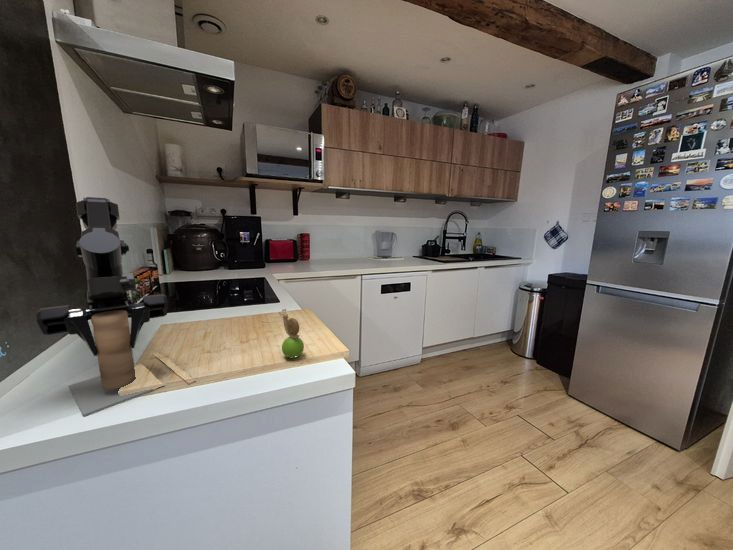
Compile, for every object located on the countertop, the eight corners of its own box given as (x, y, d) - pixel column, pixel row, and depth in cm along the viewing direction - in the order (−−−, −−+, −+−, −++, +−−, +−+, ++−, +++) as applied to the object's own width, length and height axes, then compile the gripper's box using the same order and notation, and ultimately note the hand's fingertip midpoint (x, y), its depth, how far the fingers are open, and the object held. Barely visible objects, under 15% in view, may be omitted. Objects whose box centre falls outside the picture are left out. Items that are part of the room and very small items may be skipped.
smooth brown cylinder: (110, 377, 57) (101, 311, 55) (140, 373, 59) (132, 309, 56) (95, 391, 53) (84, 319, 50) (128, 387, 54) (119, 317, 52)
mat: (68, 387, 56) (68, 385, 56) (142, 364, 66) (142, 363, 66) (83, 416, 48) (83, 414, 48) (165, 386, 58) (164, 384, 58)
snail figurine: (293, 349, 76) (292, 306, 74) (308, 356, 72) (308, 311, 70) (275, 355, 72) (274, 311, 70) (290, 364, 68) (289, 316, 66)
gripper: (28, 263, 48) (27, 346, 42) (162, 257, 60) (176, 320, 54) (43, 298, 55) (44, 373, 49) (160, 286, 68) (172, 344, 62)
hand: (114, 350), depth 53 cm, fingers closed on smooth brown cylinder, 5 cm apart
